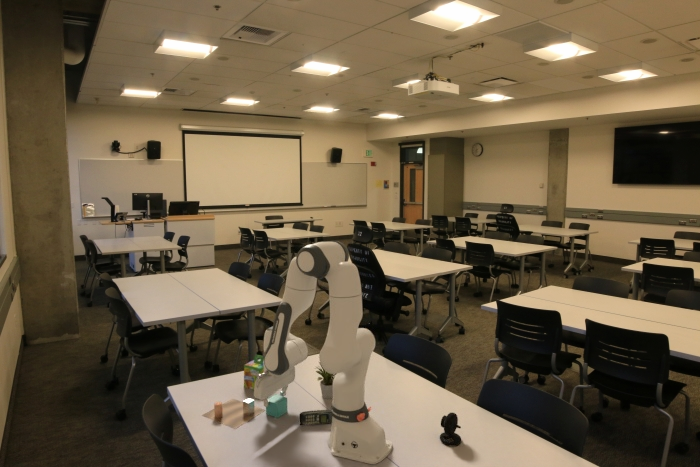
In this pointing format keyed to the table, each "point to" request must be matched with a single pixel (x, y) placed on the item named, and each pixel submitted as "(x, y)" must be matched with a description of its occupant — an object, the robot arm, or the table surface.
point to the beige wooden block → (248, 406)
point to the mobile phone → (315, 417)
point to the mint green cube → (277, 406)
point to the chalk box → (253, 371)
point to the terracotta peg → (218, 410)
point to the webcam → (450, 429)
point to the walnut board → (233, 414)
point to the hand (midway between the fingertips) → (275, 400)
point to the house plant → (326, 383)
